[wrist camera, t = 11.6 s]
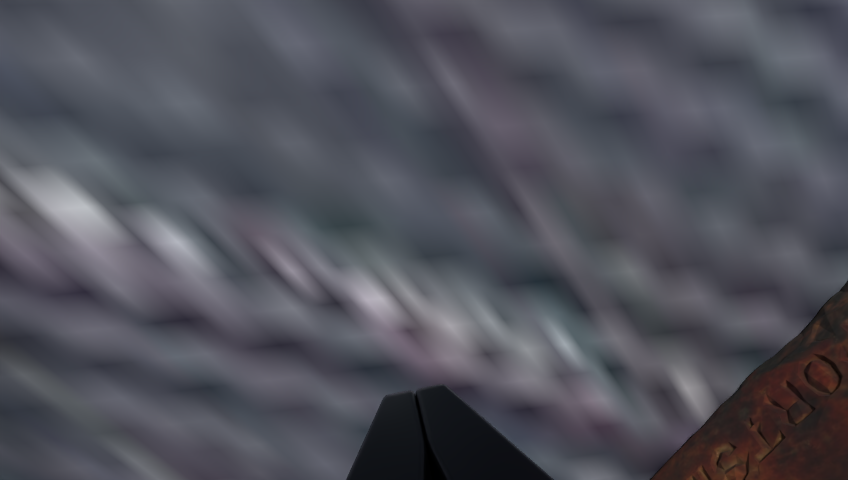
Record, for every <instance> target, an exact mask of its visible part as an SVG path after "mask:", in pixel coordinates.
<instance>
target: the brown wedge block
mask: <svg viewBox="0 0 848 480" xmlns="http://www.w3.org/2000/svg"><path fill="white" fill-rule="evenodd" d="M650 480H848V282H847V283H846V284H845V285H844V287H843V288H842V289H841V290H840V291H839V292H838V293H837V294H835V295H834V296H833V297H832V298H831V299H830V300H829V301H828V302H827V303H826V304H825V305H824V306H823V307H822V308H821V310H820V311H819V312H818V313H817V315H816V316H815V317H814V318H813V320H812V321H811V322H810V323H809V325H808V326H807V327H806V328H805V329H804V330H803V331H802V332H801V333H800V334H799V335H798V336H797V337H795V338H794V339H793V340H791V341H790V342H789V343H788V344H787V345H785V346H784V347H783V348H782V349H781V350H780V351H779V352H778V353H777V354H776V355H775V356H773V357H772V358H770V359H769V360H767V361H766V362H764V363H763V364H762V365H761V366H760V367H758V368H757V369H756V370H755V371H754V372H753V373H752V374H751V375H750V376H748V377H747V378H746V379H745V380H744V382H743V383H742V384H741V385H740V388H739V390H738V391H737V392H736V393H734V394H733V395H732V396H731V397H730V398H729V399H728V400H727V401H725V402H724V403H723V404H722V405H721V406H720V407H719V408H718V409H717V410H716V412H715V413H714V414H713V415H712V416H711V417H710V418H709V419H708V421H707V422H706V423H705V424H704V425H703V426H702V428H701V429H700V430H699V431H697V432H696V433H695V434H694V435H693V436H692V437H691V438H690V439H689V440H688V441H687V442H686V444H685V445H684V446H683V447H682V448H681V449H679V450H678V451H677V452H676V453H675V454H674V455H673V456H672V457H671V458H670V459H669V460H668V461H667V462H666V463H665V464H664V465H663V466H662V467H661V469H660V470H659V471H658V472H657V473H656V474H655V475H654V476H653V477H652V478H651V479H650Z"/></svg>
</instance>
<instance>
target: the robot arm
mask: <svg viewBox="0 0 848 480" xmlns="http://www.w3.org/2000/svg"><path fill="white" fill-rule="evenodd" d="M346 480H554V479H553V478H551V477H550V476H549V475H548V474H547V473H546V472H545V471H543V470H542V469H541V468H540V467H539V466H538V465H537V464H535V463H534V462H533V461H532V460H531V459H530V458H528V457H527V456H526V455H525V454H524V453H523V452H522V451H520V450H519V449H518V448H517V447H516V446H515V445H514V444H512V443H511V442H510V441H509V440H508V439H507V438H506V437H504V436H503V435H502V434H501V433H500V432H499V431H498V430H496V429H495V428H494V427H493V426H492V425H491V424H490V423H488V422H487V421H486V420H485V419H484V418H483V417H482V416H480V415H479V414H478V413H477V412H476V411H475V410H474V409H472V408H471V407H470V406H469V405H468V404H467V403H465V402H464V401H463V400H462V399H461V398H460V397H459V396H457V395H456V394H455V393H454V392H453V391H452V390H451V389H449V388H448V387H447V386H446V385H443V384H439V385H434V386H429V387H424V388H420V389H418V390H417V391H416V396H415V393H414V392H413V391H404V392H399V393H394V394H389V395H386V396H385V397H384V398H383V400H382V402H381V404H380V407H379V409H378V411H377V413H376V415H375V418H374V420H373V422H372V424H371V426H370V429H369V431H368V433H367V435H366V437H365V440H364V442H363V444H362V446H361V448H360V450H359V453H358V455H357V457H356V459H355V461H354V464H353V466H352V468H351V470H350V472H349V475H348V477H347V479H346Z"/></svg>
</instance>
